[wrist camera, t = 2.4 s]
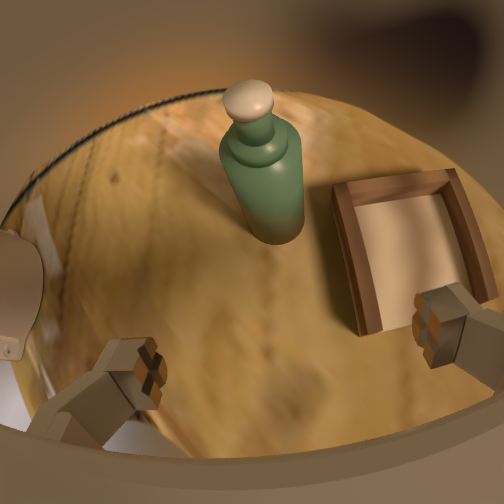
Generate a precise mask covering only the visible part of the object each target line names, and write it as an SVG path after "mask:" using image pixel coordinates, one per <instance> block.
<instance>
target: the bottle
mask: <svg viewBox="0 0 504 504" xmlns="http://www.w3.org/2000/svg"><path fill="white" fill-rule="evenodd" d="M223 104H224V106H225V109H226V112H227V114H228V116H229V117H230V118H231V119H233V122H234V123H233V124H232V125H231V126H230V128H229V130H228V131H227V132H226V134H225V135H224V137H223V138H222V140H221V143H220V147H219V156H220V160H221V162H222V164H223V167H224V169H225V171H226V173H227V176H228V178H229V180H230V183H231V185H232V187H233V190H234V192H235V194H236V196H237V199H238V201H239V203H240V206H241V208H242V210H243V213H244V215H245V217H246V220H247V222H248V224H249V227H250V229H251V231H252V233H253V234H254V236H255V237H256V238H257V239H259V240H260V241H262V242H264V243H267V244H271V245H281V244H285V243H288V242H290V241H292V240H293V239H294V238H296V237H297V236H298V235H299V233H300V232H301V230H302V228H303V226H304V220H305V216H304V188H303V167H302V148H301V139H300V136H299V133H298V132H297V130H296V129H295V128H294V127H293V126H292V125H291V124H290V123H289V122H287V121H285V120H283V119H281V118H279V117H278V116H276V115H274V114H272V111H271V110H272V109H273V106H274V100H273V94H272V90H271V87H270V86H269V85H268V84H266V83H265V82H262V81H259V80H244V81H240V82H238V83H235V84H234V85H232V86H230V87H229V88H228V89H227V90H226V91H225V93H224V95H223Z"/></svg>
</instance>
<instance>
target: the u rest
mask: <svg viewBox="0 0 504 504" xmlns="http://www.w3.org/2000/svg"><path fill="white" fill-rule="evenodd" d="M330 205H331V209H332V213H333V216H334V220H335V224H336V228H337V232H338V236H339V241H340V245H341V249H342V253H343V258H344V262H345V267H346V271H347V276H348V281H349V285H350V290H351V295H352V300H353V305H354V310H355V316H356V321H357V327H358V332H359V337H363V336H368V335H372V334H377V333H381V332H385V331H389V330H394V329H398V328H402V327H406V326H409V325H412V316H413V315H414V314H415V312H416V311H417V309H416V308H415V306H414V297H415V295H416V293H420V292H424V291H428V290H432V289H435V288H439V287H443V286H445V285H448V284H451V283H455V282H458V283H460V284H461V285H462V286H463V287H464V288H465V289H466V290H467V291H468V292H469V293H470V294H471V296H472V297H473V298H474V299H475V300H476V301H477V302H478V303H479V305H480V304H483V303H485V302H488V301H490V300H492V299H495V298H497V297H499V296H498V292H497V288H496V284H495V280H494V276H493V272H492V268H491V265H490V261H489V258H488V255H487V251H486V248H485V245H484V242H483V239H482V236H481V233H480V230H479V227H478V224H477V222H476V219H475V216H474V213H473V211H472V208H471V206H470V203H469V201H468V198H467V196H466V193H465V191H464V189H463V186H462V184H461V182H460V179H459V177H458V175H457V173H456V171H455V168H453V169H443V170H434V171H426V172H417V173H409V174H401V175H393V176H386V177H379V178H372V179H365V180H358V181H351V182H345V183H338V184H333V188H332V196H331V204H330Z"/></svg>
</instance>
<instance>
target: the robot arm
mask: <svg viewBox="0 0 504 504" xmlns="http://www.w3.org/2000/svg"><path fill="white" fill-rule="evenodd" d="M42 290H43V268H42V262H41V258H40V255H39V253H38V251H37V249H36V247H35V246H34V245H33V244H32V243H30V242H29V241H26V240H23V239H21V238H20V236H19V234H18V233H17V232H16V231H15V230H13V229H8V230H7V231H3V230H1V229H0V360H7V361H19V360H20V359H21V358H22V355H23V351H24V346H25V340H26V337H27V335H28V333H29V331H30V329H31V327H32V326H33V324H34V321H35V319H36V316H37V313H38V310H39V307H40V302H41V297H42ZM414 306H415V308H416V309H417V311H416V312H415V314H414V315H413V316H412V332H413V336H414V339H415V341H416V343H417V345H418V346H420V347H422V348H424V351H423V356H424V358H425V360H426V362H427V364H428V365H429V367H430V369H434V368H438V367H441V366H444V365H448V364H451V363H454V364H455V365H457V366H458V367H460V368H461V369H463V370H464V371H466V372H467V373H469V374H470V375H472V376H473V377H475V378H476V379H478V380H479V381H481V382H482V383H484V384H485V385H487V386H488V387H490V388H491V389H493V390H494V391H495V392H494V394H493V396H492V397H490V398H488V399H486V400H484V401H482V402H479V403H477V404H475V405H472V406H470V407H468V408H465V409H463V410H460V411H458V412H455V413H453V414H450V415H448V416H445V417H442V418H440V419H437V420H434V421H431V422H428V423H425V424H422V425H419V426H416V427H413V428H410V429H406V430H403V431H400V432H396V433H393V434H389V435H385V436H382V437H378V438H374V439H370V440H365V441H361V442H357V443H352V444H347V445H342V446H337V447H332V448H326V449H320V450H314V451H307V452H300V453H292V454H283V455H273V456H261V457H245V458H173V457H157V456H146V455H135V454H127V453H119V452H112V451H106V450H104V449H103V448H102V446H103V445H104V444H105V443H106V442H107V441H108V440H109V439H110V438H111V437H112V436H113V434H114V433H115V432H116V431H117V430H118V429H119V428H120V427H121V426H122V425H123V424H124V423H125V422H126V420H127V419H128V418H129V417H130V416H131V415H132V414H133V413H134V412H135V410H158V407H159V404H160V400H161V397H162V392H161V391H160V388H161V387H162V386H164V385H165V384H166V380H167V366H166V362H165V360H164V358H163V356H162V355H160V354H159V353H157V352H156V349H157V344H156V342H155V340H154V339H153V338H152V337H133V338H116V339H111V340H109V341H108V342H107V344H106V346H105V348H104V349H103V351H102V353H101V355H100V356H99V358H98V360H97V362H96V364H95V366H94V367H93V369H92V371H88V372H86V373H85V374H84V375H82V376H81V377H79V378H78V379H77V380H75V381H74V382H73V383H71V384H70V385H69V386H67V387H66V388H64V389H63V390H62V391H60V392H59V393H58V394H56V395H55V396H54V397H52V398H51V399H49V400H48V401H47V402H45V403H44V404H43V405H41V406H40V407H39V409H38V411H37V412H36V414H35V416H34V418H33V420H32V422H31V423H30V425H29V427H28V429H27V431H26V432H23V431H20V430H16V429H13V428H10V427H7V426H5V425H2V424H0V504H504V315H503V314H501V313H498V312H495V311H493V310H490V309H485V310H484V309H483V308H482V307H481V306H480V305H479V303H478V302H477V301H476V300H475V299H474V298H473V297H472V296H471V294H470V293H469V292H468V291H467V290H466V289H465V288H464V287H463V286H462V285H461V284H460V283H458V282H455V283H451V284H448V285H445V286H443V287H439V288H435V289H432V290H428V291H424V292H420V293H416V295H415V297H414Z"/></svg>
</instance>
